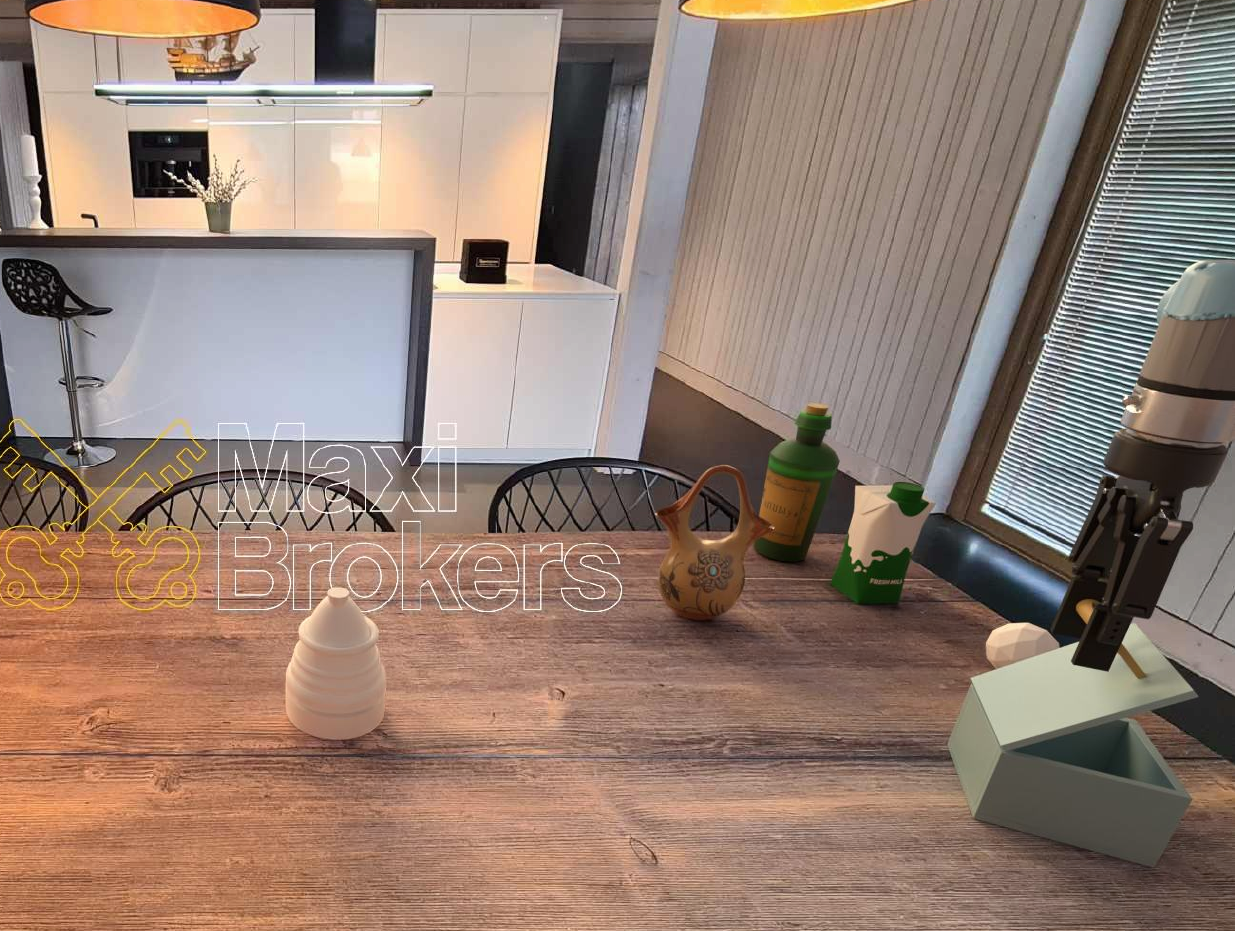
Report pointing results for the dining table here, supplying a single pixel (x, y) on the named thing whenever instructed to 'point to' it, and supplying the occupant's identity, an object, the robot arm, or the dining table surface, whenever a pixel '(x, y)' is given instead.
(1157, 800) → the compartment
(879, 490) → the milk carton
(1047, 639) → the geometric ball
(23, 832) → the dining table surface
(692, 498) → the ceramic vessel
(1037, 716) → the compartment door
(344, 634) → the honey pot
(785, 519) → the bottle
